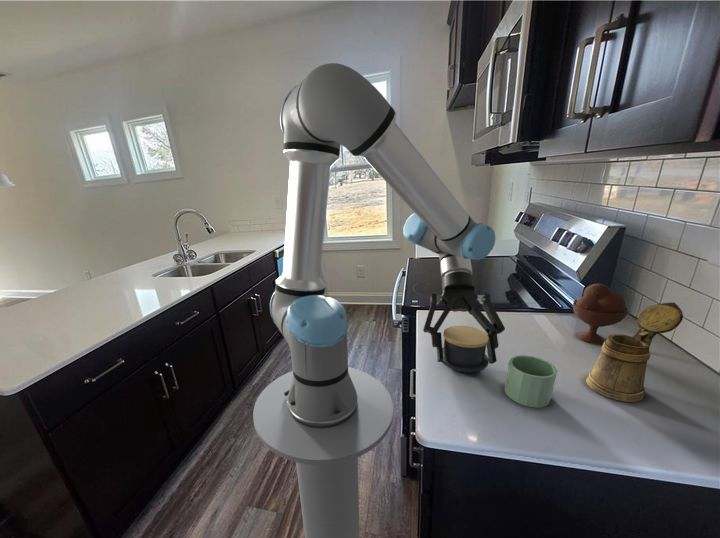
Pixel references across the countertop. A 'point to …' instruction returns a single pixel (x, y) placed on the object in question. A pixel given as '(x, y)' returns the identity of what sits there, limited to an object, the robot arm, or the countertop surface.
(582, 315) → the ice cream bowl
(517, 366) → the cup
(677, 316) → the wooden mug
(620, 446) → the countertop surface
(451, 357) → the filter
